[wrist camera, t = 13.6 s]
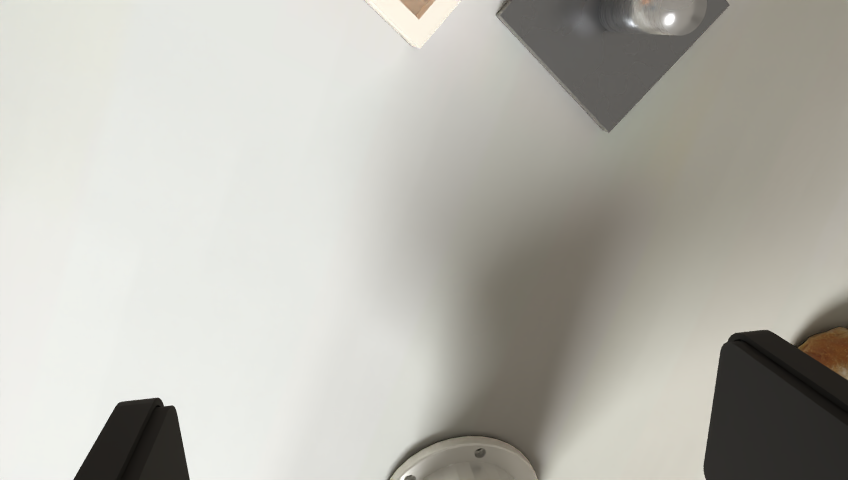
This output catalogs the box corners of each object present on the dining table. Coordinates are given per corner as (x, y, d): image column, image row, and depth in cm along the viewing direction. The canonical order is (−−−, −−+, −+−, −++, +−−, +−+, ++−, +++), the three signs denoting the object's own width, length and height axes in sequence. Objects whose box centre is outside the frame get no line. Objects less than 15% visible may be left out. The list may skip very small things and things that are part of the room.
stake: (721, 5, 36) (815, 2, 29) (603, 130, 37) (667, 155, 30) (621, -129, 32) (703, -168, 25) (495, 15, 33) (541, 15, 27)
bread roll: (741, 331, 50) (767, 405, 43) (883, 292, 45) (935, 369, 39) (777, 405, 53) (806, 484, 47) (911, 377, 49) (963, 459, 42)
